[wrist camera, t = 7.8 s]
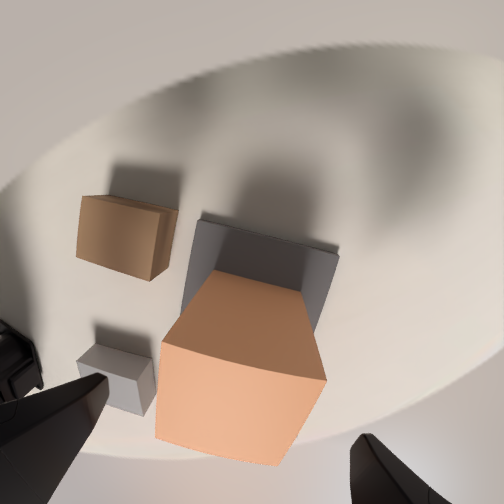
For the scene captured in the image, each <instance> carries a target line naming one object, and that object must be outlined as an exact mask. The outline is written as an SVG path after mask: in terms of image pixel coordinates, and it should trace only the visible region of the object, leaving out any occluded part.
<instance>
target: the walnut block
mask: <svg viewBox="0 0 504 504" xmlns="http://www.w3.org/2000/svg"><path fill="white" fill-rule="evenodd" d="M178 211H179V210H175V209H170V208H166V207H162V206H157V205H153V204H148V203H144V202H139V201H134V200H130V199H125V198H121V197H116V196H111V195H94V196H82V201H81V209H80V217H79V226H78V237H77V250H76V257H77V258H80V259H83V260H86V261H89V262H92V263H94V264H97V265H100V266H103V267H106V268H109V269H112V270H115V271H118V272H121V273H124V274H127V275H130V276H134V277H137V278H140V279H143V280H146V281H149V282H150V281H151V280H152V279H154V278H155V277H156V276H158V275H159V274H160V273H162V272H163V271H164V270H166V269H167V268H168V266H169V260H170V254H171V248H172V242H173V237H174V231H175V226H176V221H177V216H178Z"/></svg>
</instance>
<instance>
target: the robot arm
mask: <svg viewBox="0 0 504 504" xmlns="http://www.w3.org/2000/svg"><path fill="white" fill-rule="evenodd" d="M34 387H36V388H38V389H39V390H42V389H43V384H42V380H41V376H40V372H39V368H38V364H37V360H36V355H35V350H34V346H33V344H32V342H31V341H30V340H28V339H27V338H25V337H24V336H22V335H21V334H19V333H18V332H16V331H15V330H14V329H12V328H11V327H10V326H8V325H7V324H6V323H4V322H3V321H2V320H0V504H47V503H48V501H49V500H50V498H51V496H52V495H53V493H54V491H55V490H56V488H57V486H58V485H59V483H60V481H61V480H62V478H63V476H64V475H65V473H66V472H67V470H68V468H69V467H70V465H71V464H72V462H73V460H74V459H75V457H76V456H77V454H78V452H79V451H80V449H81V448H82V446H83V445H84V443H85V441H86V440H87V438H88V437H89V435H90V434H91V432H92V430H93V429H94V427H95V425H96V423H97V421H98V419H99V416H100V414H101V412H102V410H103V408H104V406H105V404H106V402H107V400H108V398H109V394H110V390H109V379H108V377H107V376H106V375H104V374H101V373H99V372H96V373H93V374H90V375H88V376H85V377H82V378H79V379H77V380H74V381H71V382H68V383H65V384H63V385H60V386H57V387H54V388H51V389H48V390H45V391H42V392H39V393H36V394H33V395H30V396H26V397H24V396H25V395H26V394H27V393H28V392H30V391H31V390H32V389H33V388H34ZM350 490H351V499H352V504H452V503H450V502H448V501H447V500H446V499H444V498H443V497H442V496H441V495H439V494H438V493H437V492H436V491H434V490H433V489H432V488H431V487H429V486H428V485H427V484H426V483H425V482H424V481H423V480H422V479H421V478H419V477H418V476H417V475H416V474H415V473H414V472H413V471H412V470H411V469H409V468H408V467H407V466H406V465H405V464H404V463H403V462H402V461H401V460H400V459H398V458H397V457H396V456H395V455H394V454H393V453H392V452H391V451H390V450H389V449H388V448H387V447H386V446H385V445H384V444H383V443H382V442H381V441H379V440H378V439H377V438H376V437H375V436H374V435H373V434H371V433H366V434H365V433H363V434H361V435H360V436H359V437H358V439H357V440H356V441H355V443H354V444H353V445H352V447H351V449H350Z"/></svg>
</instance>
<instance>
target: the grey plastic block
mask: <svg viewBox="0 0 504 504" xmlns="http://www.w3.org/2000/svg"><path fill="white" fill-rule="evenodd" d="M76 362H77V366H78V369H79V373H80V376H81V378H82V377H85V376H88V375H90V374H93V373H96V372H99V373H101V374H104V375H106V376H107V377H108V379H109V390H110V394H109V398H108V400H107V402H106V404H107V405H109V406H112V407H115V408H118V409H121V410H124V411H127V412H130V413H133V414H136V415H140V416H143V417H144V415H145V413H146V411H147V409H148V408H149V406H150V404H151V402H152V400H153V399H154V397H155V395H156V387H155V379H154V371H153V362H152V358H148V357H144V356H140V355H136V354H132V353H128V352H124V351H120V350H117V349H113V348H110V347H106V346H103V345H100V344H96V343H95V344H94V345H93V346H92V347H91V348H90V349H89V350H88V351H87V352H85V353H84V354H83V355H82V356H81V357H80V358H79V359H78V360H77V361H76Z"/></svg>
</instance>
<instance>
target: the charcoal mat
mask: <svg viewBox="0 0 504 504" xmlns="http://www.w3.org/2000/svg"><path fill="white" fill-rule="evenodd" d="M339 257H340V256H339V255H338V254H335V253H332V252H328V251H324V250H320V249H317V248H313V247H309V246H305V245H301V244H297V243H294V242H290V241H286V240H282V239H278V238H274V237H270V236H266V235H262V234H258V233H254V232H250V231H246V230H242V229H238V228H234V227H230V226H226V225H222V224H218V223H214V222H210V221H205V220H201V219H199V220H197V225H196V230H195V235H194V240H193V245H192V250H191V255H190V260H189V266H188V271H187V277H186V282H185V288H184V294H183V300H182V307H181V313H180V315H181V314H182V312H183V311H184V310H185V308H186V307H187V305H188V304H189V303H190V301H191V300H192V299H193V297H194V296H195V294H196V293H197V292H198V290H199V289H200V288H201V286H202V285H203V283H204V282H205V281H206V279H207V278H208V277H209V275H210V274H211V273H212V271H213V270H217V271H221V272H225V273H228V274H232V275H236V276H240V277H244V278H248V279H251V280H255V281H259V282H263V283H267V284H271V285H275V286H279V287H283V288H287V289H291V290H295V291H299V292H301V294H302V297H303V301H304V304H305V307H306V310H307V314H308V317H309V320H310V324H311V327H312V330H313V333H314V331H315V328H316V325H317V323H318V320H319V317H320V314H321V312H322V309H323V306H324V303H325V300H326V297H327V294H328V291H329V288H330V285H331V282H332V279H333V276H334V273H335V270H336V267H337V263H338V260H339Z"/></svg>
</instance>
